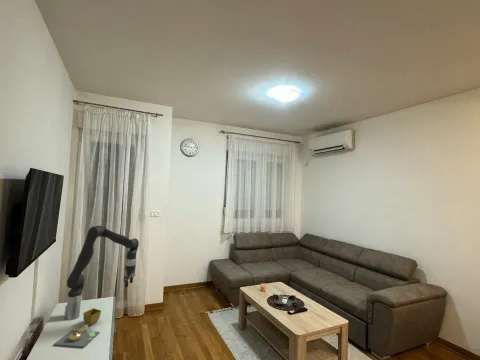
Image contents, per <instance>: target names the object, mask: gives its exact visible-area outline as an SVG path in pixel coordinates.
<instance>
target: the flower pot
mask: <svg viewBox="0 0 480 360" xmlns="http://www.w3.org/2000/svg"><path fill="white" fill-rule="evenodd" d="M82 314H83V315H82V316H83V322H84V323H85V324H86V325H88V326H93V325H95V324H96V323H98V321H99V320H100V317H101V314H102V310H101V309H97V308H94V307H93V308H91V309H89V310H87V311H84V312H83V313H82Z"/></svg>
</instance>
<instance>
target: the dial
mask: <svg viewBox="0 0 480 360" xmlns="http://www.w3.org/2000/svg"><path fill="white" fill-rule="evenodd" d="M88 327H89V325H87V324H86V323H85V324H84V325H83V326H81V328H79V329H77V330H78V331H75V332H72V333H71V334H70V335H69V342H76V341H78V340H80V339H81V334H82V333H83V332H85V331H88Z"/></svg>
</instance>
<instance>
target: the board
mask: <svg viewBox="0 0 480 360" xmlns="http://www.w3.org/2000/svg"><path fill="white" fill-rule="evenodd" d="M78 330H79V329H71V330H70V331H69V332H67V333H66V334H64V336H62V337H60V338H59V340H57V341H56V342H54V343H53V347H61V346H62V348H63V347H64V348H76V349H84V348H85V347H87V346H88V345H89V343H91V342H92V341H93V340H94V339H95V338H97V336H98V335H99V334H100V331H95V330H91V329H90V330H86V331H85V332H83V333H82V334H81V339H80V340H78V341H76V342H69V335H70V334H71V333H72V332H75V331H78Z"/></svg>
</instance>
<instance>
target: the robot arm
mask: <svg viewBox="0 0 480 360" xmlns="http://www.w3.org/2000/svg"><path fill="white" fill-rule="evenodd" d="M100 237H102V238H107V239H109V240H110V241H112V243H114V244H115V243H116V244H119V245H121V246H123V247H125V248H127V249H129V250H127V253H126V259H125V269H124V271H125V272H126V273H124V275H123V276H124V278H123V283H124V288H128V287H129V283H130V284H133V282H134V278H135V275H136V267H137V266H136V265H137V252H138V249H139V244H140V242H139V240H138V239H137V238H135V237H134V238H131V239H130V238H128V237H127V236H126V235H123V234H120V233H118V232H114V231H112V230H110V229H108V228H106V227H104V226H103V225H94V226H91V227H90V228H89V229H88V231H87V234H86V237H85V241H84V243H83V245H82V247H81V251H80V252H79V255H78V256H77V260H76V262H75V264H74V266H73V269H72V271H71V273H70V274H69V276H68V277H67V280H66V286H67V287H68V289H70V290H69V291H68V292H67V298H66V299H67V301H66V305H65V307H64V317H63V319H64V320H67V321H70V320H71V321H72V320H75V319H78V318H79V317H80V314H81V305H82V295H83V294H82V293H83V291H84V287H85V275H84V274H82V273H83V271H84V270H85V269H86V268H87V266H88V265H89V264H90V262H91V260H92V258H93V256H94V250H95V249H94V246H95V242H96V240H97V238H100Z"/></svg>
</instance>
